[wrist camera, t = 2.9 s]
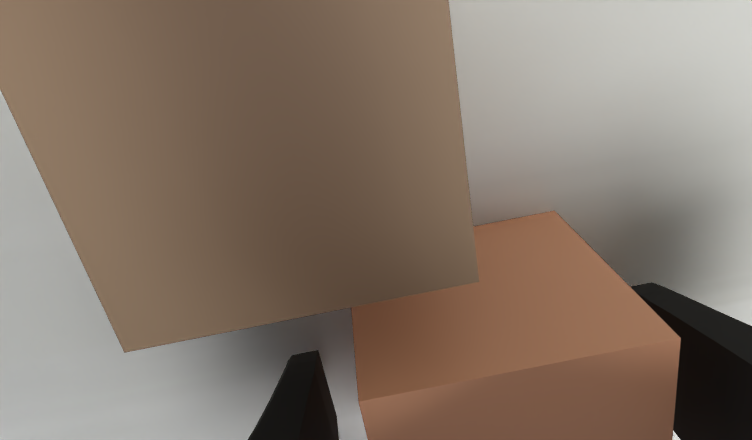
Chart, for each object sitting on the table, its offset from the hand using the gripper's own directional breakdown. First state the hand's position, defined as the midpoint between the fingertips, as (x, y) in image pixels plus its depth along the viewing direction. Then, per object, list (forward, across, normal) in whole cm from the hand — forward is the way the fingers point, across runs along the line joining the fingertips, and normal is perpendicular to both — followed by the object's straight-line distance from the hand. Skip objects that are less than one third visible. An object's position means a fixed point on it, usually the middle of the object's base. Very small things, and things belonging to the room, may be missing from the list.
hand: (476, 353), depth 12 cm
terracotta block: (+2, 0, 0) cm, 2 cm away
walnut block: (+2, +3, -7) cm, 7 cm away
